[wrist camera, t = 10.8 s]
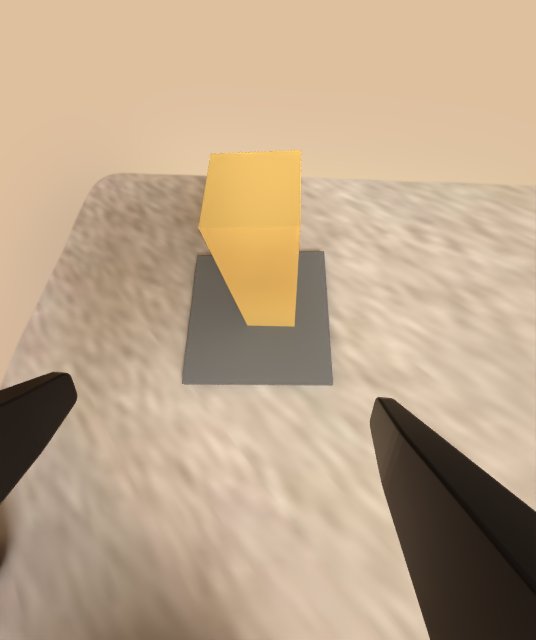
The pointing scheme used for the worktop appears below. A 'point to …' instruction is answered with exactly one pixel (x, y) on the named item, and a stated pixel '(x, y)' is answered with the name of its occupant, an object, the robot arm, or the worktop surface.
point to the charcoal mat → (258, 333)
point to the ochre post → (256, 230)
